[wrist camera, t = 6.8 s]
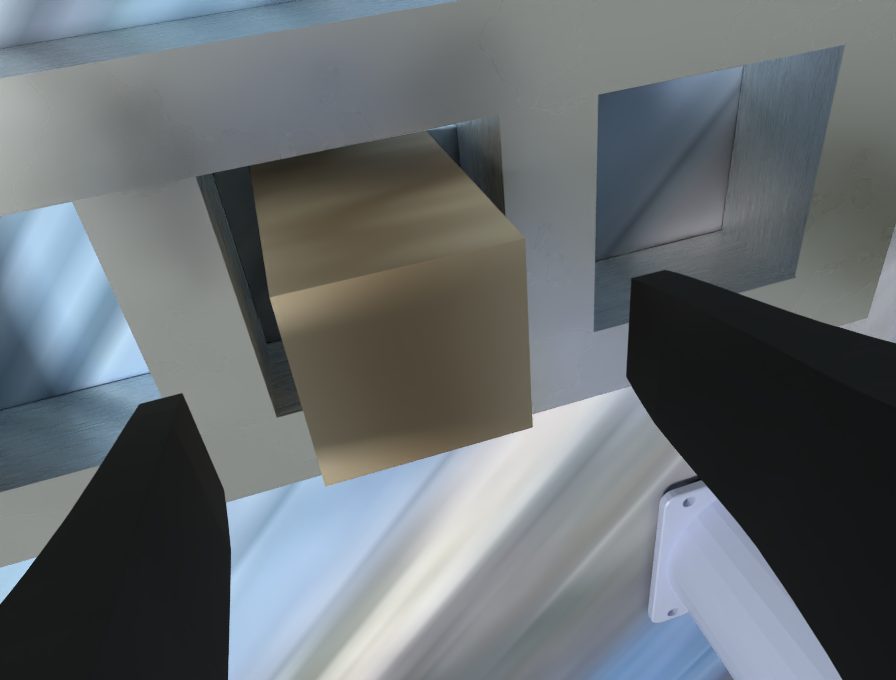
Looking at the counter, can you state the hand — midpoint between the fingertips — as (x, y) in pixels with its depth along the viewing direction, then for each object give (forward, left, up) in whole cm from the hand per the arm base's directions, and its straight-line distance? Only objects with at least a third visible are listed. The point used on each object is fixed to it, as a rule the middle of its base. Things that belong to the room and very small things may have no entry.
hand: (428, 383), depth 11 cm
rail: (0, 0, -7) cm, 7 cm away
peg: (0, 0, -7) cm, 7 cm away
